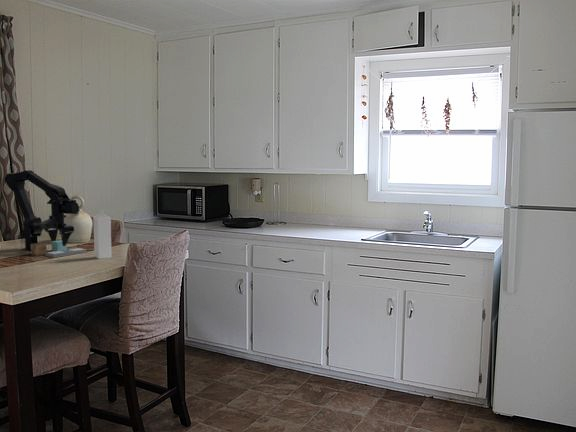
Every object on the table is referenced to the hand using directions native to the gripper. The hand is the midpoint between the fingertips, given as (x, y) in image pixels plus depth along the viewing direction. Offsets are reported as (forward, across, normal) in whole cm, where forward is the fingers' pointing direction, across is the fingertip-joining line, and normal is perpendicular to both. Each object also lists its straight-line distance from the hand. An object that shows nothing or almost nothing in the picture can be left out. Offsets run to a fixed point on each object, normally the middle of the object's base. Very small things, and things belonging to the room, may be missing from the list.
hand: (58, 244), depth 280 cm
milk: (+3, +30, +4) cm, 31 cm away
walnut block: (+3, 0, -10) cm, 11 cm away
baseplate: (+3, +10, -2) cm, 11 cm away
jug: (+3, -20, +23) cm, 31 cm away
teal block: (+3, 0, 0) cm, 3 cm away
